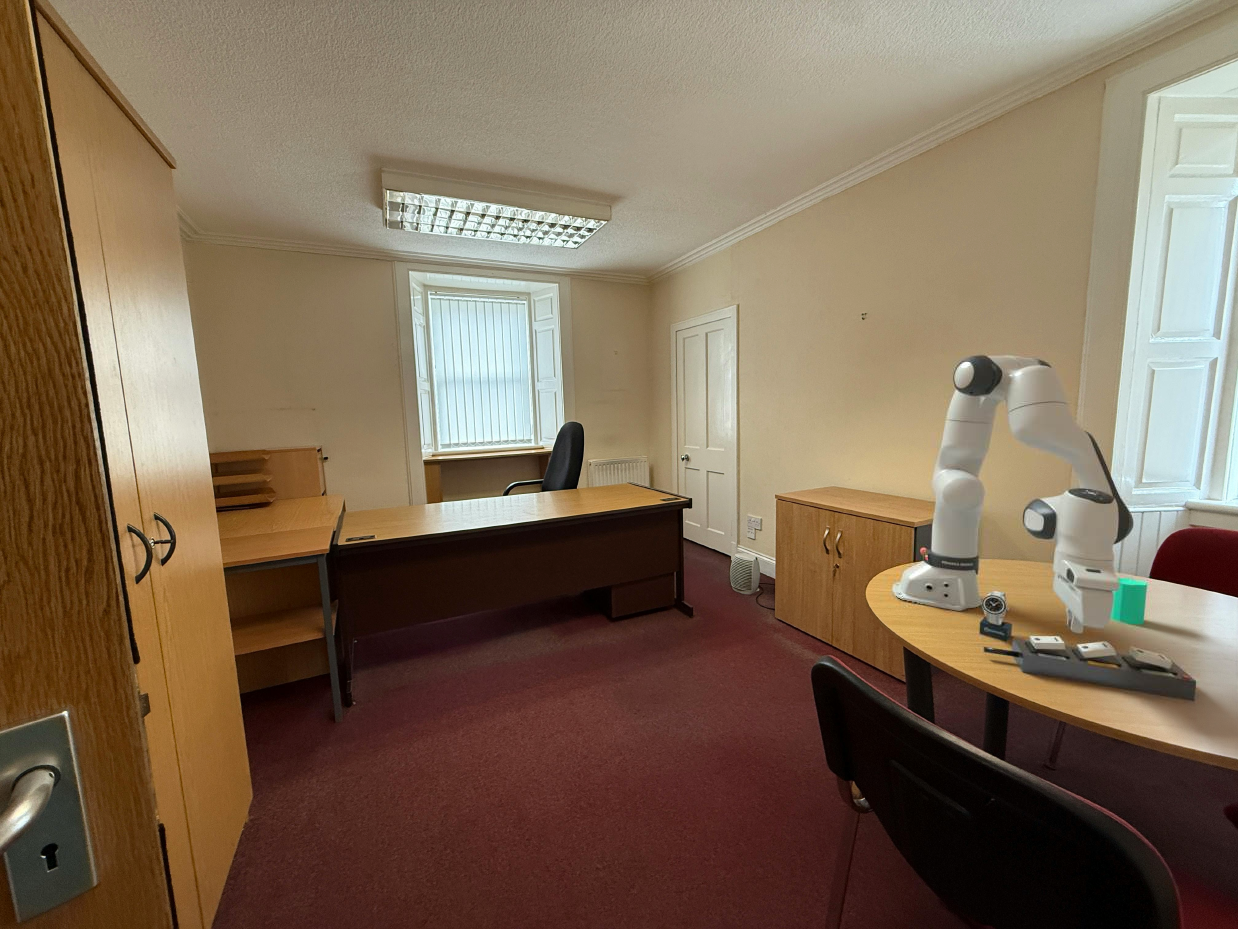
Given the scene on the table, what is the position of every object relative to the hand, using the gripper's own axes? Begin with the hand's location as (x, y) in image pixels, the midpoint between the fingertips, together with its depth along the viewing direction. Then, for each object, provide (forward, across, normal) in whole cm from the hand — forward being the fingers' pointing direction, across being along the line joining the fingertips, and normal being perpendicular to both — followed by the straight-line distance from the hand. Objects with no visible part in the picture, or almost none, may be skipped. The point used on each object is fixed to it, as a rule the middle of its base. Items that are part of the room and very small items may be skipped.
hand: (1074, 629), depth 101 cm
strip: (+10, -1, +1) cm, 10 cm away
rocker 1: (+4, 0, -4) cm, 6 cm away
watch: (+10, -14, -10) cm, 20 cm away
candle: (+9, -37, +20) cm, 44 cm away
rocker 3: (+4, -1, +12) cm, 13 cm away
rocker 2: (+4, -1, +4) cm, 6 cm away
